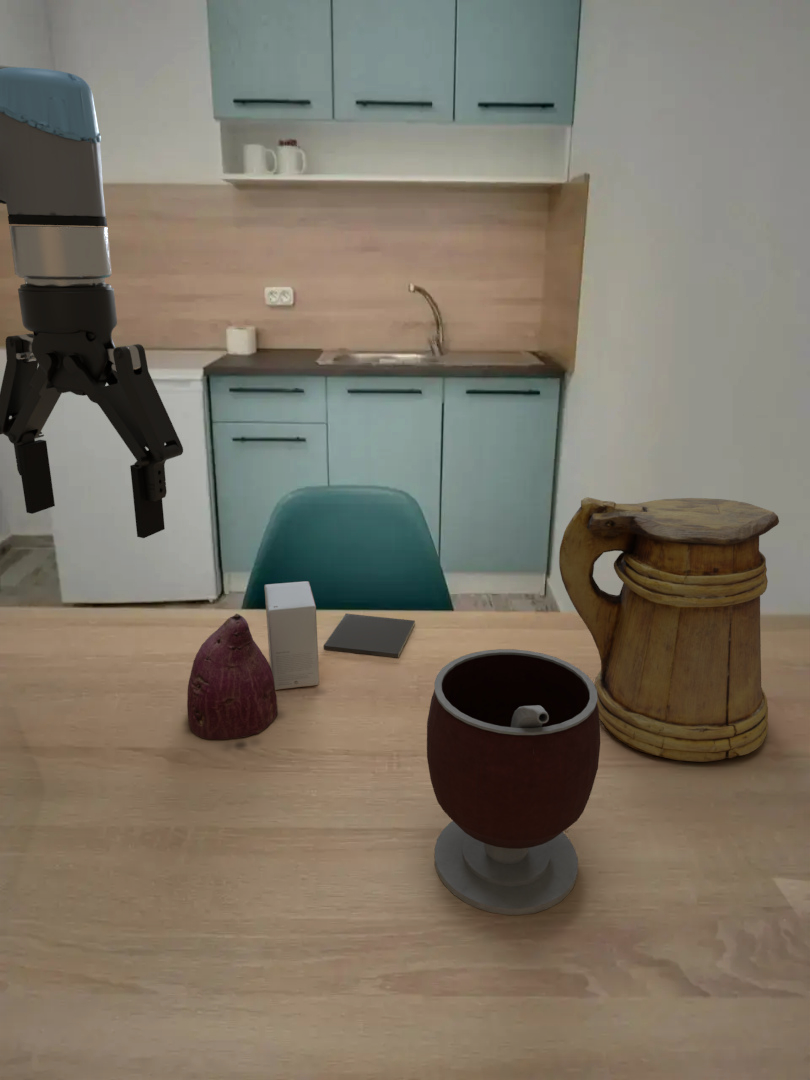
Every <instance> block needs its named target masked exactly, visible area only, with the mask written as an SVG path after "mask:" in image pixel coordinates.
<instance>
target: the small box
mask: <svg viewBox="0 0 810 1080" xmlns="http://www.w3.org/2000/svg"><path fill="white" fill-rule="evenodd" d="M264 599H265V615H266V616H265V617H266V629H267V644H268V645H267V646H268V657H269V665H270V668H271V670H272V673H273V677H274V685H275V691H277V690H286V689H295V688H301V687H302V688H304V687H313V686H319V685H320V669H319V668H320V666H319V664H320V663H319V645H318V643H319V642H318V623H317V606H316V601H315V598H314V594H313V590H312V588H311V584H310V581H293V582H292V581H291V582H282V583H281V582H280V583H268V584H264Z"/></svg>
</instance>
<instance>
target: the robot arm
mask: <svg viewBox="0 0 810 1080" xmlns="http://www.w3.org/2000/svg"><path fill="white" fill-rule="evenodd" d="M99 130H100V129H99V124H98V117H97V111H96V107H95V100H94V95H93V91H92V88H91V86H90V85H89V84H88V82H87V81H86V80H85V79H83V78H82V77H80V76H79V75H77V74H73V73H70V72H65V71H61V70H55V69H48V68H37V67H20V66H19V67H15V66H13V67H3V68H0V204H3V205H6V211H7V215H8V216H7V221H8V227H9V235H10V243H11V244H10V245H11V252H12V260H13V261H12V262H13V268H14V269H13V270H14V274H15V275H16V277H18V278H22V279H24V283H22V284H20V285H19V288H17V293H18V300H19V307H20V315H21V323H22V326H23V327H24V329H26V330H27V331H29V332H33V333H23V334H17V335H16V334H15V335H8V336H7V337H6V338H5V353H6V354H5V356H6V361H5V362H6V363H5V368H4V372H3V377H2V382H1V386H0V435H4V436H6V437H7V439H8V441H9V442H10V443H12V444H13V449H14V455H15V463H16V468H17V473H18V474H19V476H20V478H21V484H22V491H23V497H24V504H25V511H26V514H31V515H34V514H35V513H39V512H42V511H44V510H48V509H50V508H53V507H56V503H55V497H54V489H53V481H52V474H51V466H50V459H49V452H48V445H47V440H45V439H39V438H43V437H44V436H45V434H43V432H42V430H43V428H44V427H45V425H46V423H47V421H48V419H49V417H50V416H51V413H52V412H53V410H54V408H55V406H56V405H57V403H58V401H59V399H60V397H61V395H62V394H66V393H72V394H73V395H77V396H87V397H88V399H89V401H90V402H91V403H94V404H97V405H98V406H99V408H100V409H101V411H102V412H103V414H104V415H105V416H106V418H107V419H108V421H109V422H110V424H111V425H112V427H113V428H114V429H115V431H116V432H117V434H118V436H119V437H120V438H121V440H122V441H123V443H124V444H125V445H126V447H127V448H128V449H129V451H130V453H131V454H132V456H133V457H134V459H135V460H136V462H134V463H133V464H130V466H129V467H130V469H129V470H130V477H131V479H130V480H131V487H132V499H133V508H134V519H135V529H136V537H137V538H139V539H145V538H148V537H150V536H153V535H154V534H155V535H156V534H157V533H159V532H162V531H164V530H165V529H166V527H165V517H164V516H165V515H164V507H163V504H164V503H163V498H166V496H167V491H168V490H167V483H166V482H167V481H166V468H165V467H166V466H165V463H166V461H167V460H170V459H174V458H176V457H179V456H182V455H183V453H184V447H183V444H182V442H181V440H180V438H179V436H178V433H177V431H176V428H175V426H174V424H173V422H172V420H171V418H170V416H169V414H168V411H167V409H166V407H165V405H164V402H163V401H162V398H161V396H160V394H159V391H158V389H157V387H156V385H155V383H154V380H153V378H152V376H151V373H150V371H149V367H148V361H147V356H146V350H145V347H144V346H143V345H142V344H141V343H136V344H135V343H134V344H130V345H123V346H117V347H116V345H115V343H114V341H113V337H112V333H113V330H114V329H115V328H116V327H117V325H118V318H117V307H116V306H117V305H116V297H115V288H113V287H112V285H111V284H109V283H106V279H107V278H110V277H111V276H112V274H113V272H112V271H113V270H112V261H111V251H110V250H111V249H110V240H109V230H108V222H107V220H108V219H107V218H106V217H107V216H106V206H105V195H104V194H105V193H104V179H103V166H102V165H103V164H102V147H101V142H102V135H101V133H100V131H99ZM10 417H11V418H10ZM36 439H37V440H36Z"/></svg>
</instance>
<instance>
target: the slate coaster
mask: <svg viewBox="0 0 810 1080" xmlns="http://www.w3.org/2000/svg"><path fill="white" fill-rule="evenodd" d="M415 625H416V620H415V619H414V620H413V619H404V618H394V617H393V618H392V617H384V616H373V615H364V614H356V613H355V614H354V613H345V614H344V615H343V616H342V618H341V619H340V621H339V623H338V624H337V626H336V627H335V628H334V630H333V631H332V633H331V634H330V636H329V637H328V638H327V640H326V641H325V643H324V644H323V650H324V651H325V650H326V651H333V652H342V653H351V654H352V653H353V654H361V655H368V656H369V655H370V656H380V657H388V658H395V659H396V658H397V659H399V657H400V655H401V653H402V652H403V649H404V647H405V645H406V643H407V641H408V639H409V638H410V636H411V633H412V631H413V629H414V627H415Z"/></svg>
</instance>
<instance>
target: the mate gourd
mask: <svg viewBox="0 0 810 1080" xmlns="http://www.w3.org/2000/svg"><path fill="white" fill-rule="evenodd" d="M433 684H434V689H433V692H432V696H431V699H430V704H429V710H428V715H427V719H426V720H427V721H426V759H427V765H428V770H429V779H430V782H431V785H432V790H433V792H434V795H435V796H434V797H435V798H436V801H437V803H438V805H439V806H440V808H441V809H442V811H443V812H444V813H445V814H446V815H447V816H448V817H449V818H450V819H451V820H452V821H450V822H449V823H448V824H447V825H446V826H445V827H444V828H442V830H441V832H440V833H439V835H438V837H437V839H436V842H435V847H434V866H435V869H436V872H437V875H438V877H439V879H440V880H441V882H442V884H443V885H444V886H445V888H447V890H448V891H449V892H451V894H452V895H453V896H455V897H456V898H457V899H460V900H461V901H462V902H464V903H466V904H467V905H470V906H471V907H474V908H476V909H478V910H482V911H485V912H488V913H492V914H499V915H505V916H522V915H523V916H524V915H529V914H537V913H539V912H542V911H545V910H549V909H550V908H552V907H554V906H555V905H556V906H557V905H558V904H559V903H561V902H562V901H563V900H564V899H565V898H567V896H569V894H570V893H571V891H572V890H573V889H574V887H575V884H576V882H577V878H578V872H579V859H578V855H577V850H576V848H575V847H574V845H573V843H572V841H571V840H570V839H569V838H568V836H567V835H566V834H565V831H566V830H568V829H569V828H570V827H572V825H574V824H575V823H576V822H577V821H578V820H579V818H580V817H581V816H582V815H583V813H584V811H585V809H586V807H587V804H588V802H589V799H590V797H591V793H592V791H593V787H594V783H595V781H596V776H597V773H598V770H599V759H600V750H601V725H600V723H601V722H600V719H599V710H598V704H597V690H596V688H595V682H593V681H592V679H591V678H590V677H589V676H588V674H586V673H585V672H584V671H583V670H582V669H580V668H578V667H577V666H575V665H574V664H572V663H570V662H568V661H565V660H563V659H561V658H558V657H556V656H553V655H551V654H546V653H544V652H539V651H538V652H537V651H533V650H526V649H525V650H524V649H515V648H512V649H511V648H498V649H488V650H487V649H485V650H481V651H477V652H476V651H475V652H471V653H468V654H465V655H462V656H459V657H457V658H455V659H453V660H451V661H449V662H448V663H447V664H445V665H444V666H443V667H442V668H441V669H440V670H439V672H438V673H437V674H436V677H435V680H434V683H433Z"/></svg>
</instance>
